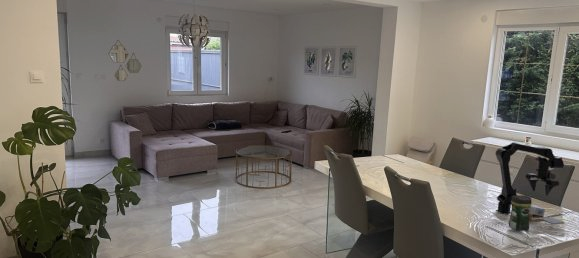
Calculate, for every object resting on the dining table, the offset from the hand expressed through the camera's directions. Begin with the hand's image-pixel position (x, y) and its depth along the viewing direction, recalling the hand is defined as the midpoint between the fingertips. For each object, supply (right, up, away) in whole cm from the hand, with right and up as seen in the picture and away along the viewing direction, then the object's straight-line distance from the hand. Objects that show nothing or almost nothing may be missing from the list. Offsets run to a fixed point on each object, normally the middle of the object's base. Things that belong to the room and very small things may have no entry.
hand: (540, 193), depth 252 cm
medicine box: (-3, -10, -5) cm, 12 cm away
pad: (0, -14, -12) cm, 18 cm away
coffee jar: (-28, -15, -26) cm, 41 cm away
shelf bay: (-10, -13, -8) cm, 19 cm away
